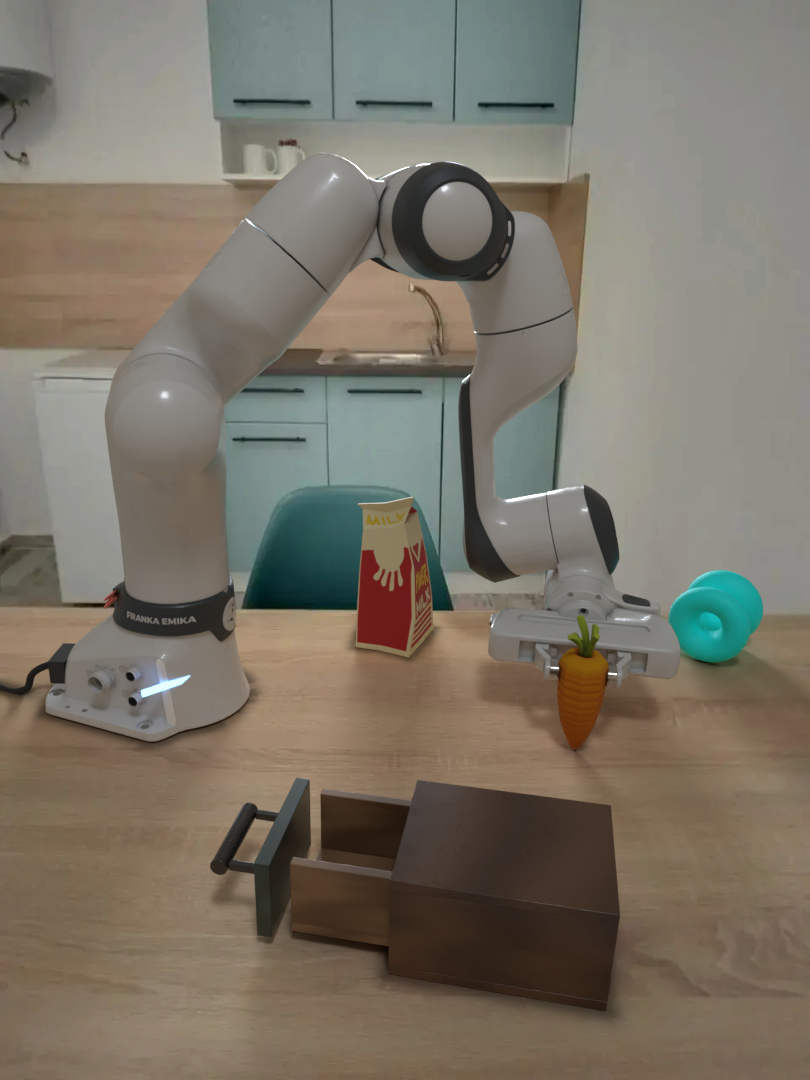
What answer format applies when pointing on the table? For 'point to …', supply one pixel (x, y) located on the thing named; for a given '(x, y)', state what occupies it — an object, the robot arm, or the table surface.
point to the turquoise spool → (716, 615)
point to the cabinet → (506, 894)
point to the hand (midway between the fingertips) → (583, 678)
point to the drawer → (322, 863)
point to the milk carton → (393, 580)
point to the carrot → (581, 685)
